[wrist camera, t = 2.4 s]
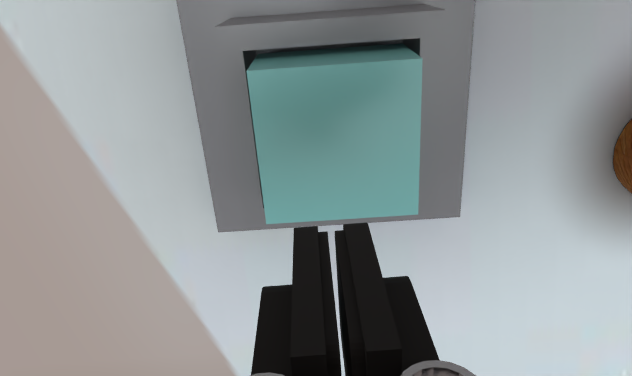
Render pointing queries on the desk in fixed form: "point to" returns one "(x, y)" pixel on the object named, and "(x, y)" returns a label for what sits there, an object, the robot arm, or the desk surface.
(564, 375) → the desk surface
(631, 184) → the disposable coffee cup
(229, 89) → the button housing
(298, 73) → the button cap
